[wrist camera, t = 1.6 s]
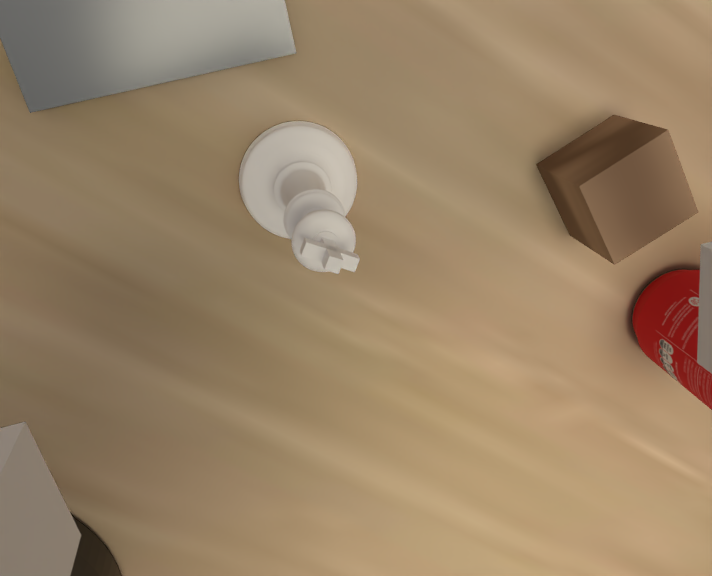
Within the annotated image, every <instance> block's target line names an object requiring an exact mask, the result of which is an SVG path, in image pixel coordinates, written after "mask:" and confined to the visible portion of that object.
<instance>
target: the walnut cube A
mask: <svg viewBox="0 0 712 576" xmlns="http://www.w3.org/2000/svg"><path fill="white" fill-rule="evenodd" d="M536 165H537V167H538V169H539V172H540V174H541V176H542V178H543V180H544V182H545V184H546V186H547V188H548V190H549V193H550V195H551V197H552V199H553V201H554V203H555V205H556V207H557V209H558V211H559V213H560V216H561V218H562V220H563V222H564V224H565V226H566V228H567V230H568V232H569V234H570V236H572V237H573V238H575V239H576V240H578V241H579V242H581V243H582V244H584V245H585V246H587V247H589V248H590V249H592V250H593V251H595V252H596V253H598V254H599V255H601V256H602V257H604V258H605V259H607V260H608V261H610V262H611V263H613V264H614V265H615V264H616V263H618V262H620V261H621V260H623V259H624V258H626V257H628V256H629V255H631V254H632V253H634V252H636V251H637V250H639V249H640V248H642V247H644V246H645V245H647V244H648V243H650V242H652V241H653V240H655V239H656V238H658V237H660V236H661V235H663V234H664V233H666V232H668V231H669V230H671V229H673V228H674V227H676V226H677V225H679V224H681V223H682V222H684V221H685V220H687V219H689V218H690V217H692V216H693V215H695V214H697V213H698V210H697V207H696V204H695V202H694V199H693V196H692V193H691V191H690V188H689V185H688V183H687V180H686V177H685V174H684V172H683V169H682V166H681V163H680V161H679V158H678V155H677V152H676V150H675V147H674V144H673V141H672V139H671V136H670V133H669V131H668V130H667V129H663V128H660V127H656V126H653V125H649V124H645V123H642V122H638V121H635V120H631V119H627V118H624V117H620V116H617V115H613V116H611V117H610V118H608V119H607V120H605V121H604V122H602V123H601V124H599V125H597V126H596V127H594V128H593V129H591V130H590V131H588V132H586V133H585V134H583V135H582V136H580V137H579V138H577V139H575V140H574V141H572V142H571V143H569V144H568V145H566V146H565V147H563V148H561V149H560V150H558V151H557V152H555V153H554V154H552V155H550V156H549V157H547V158H546V159H544V160H543V161H541V162H539V163H538V164H536Z"/></svg>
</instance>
